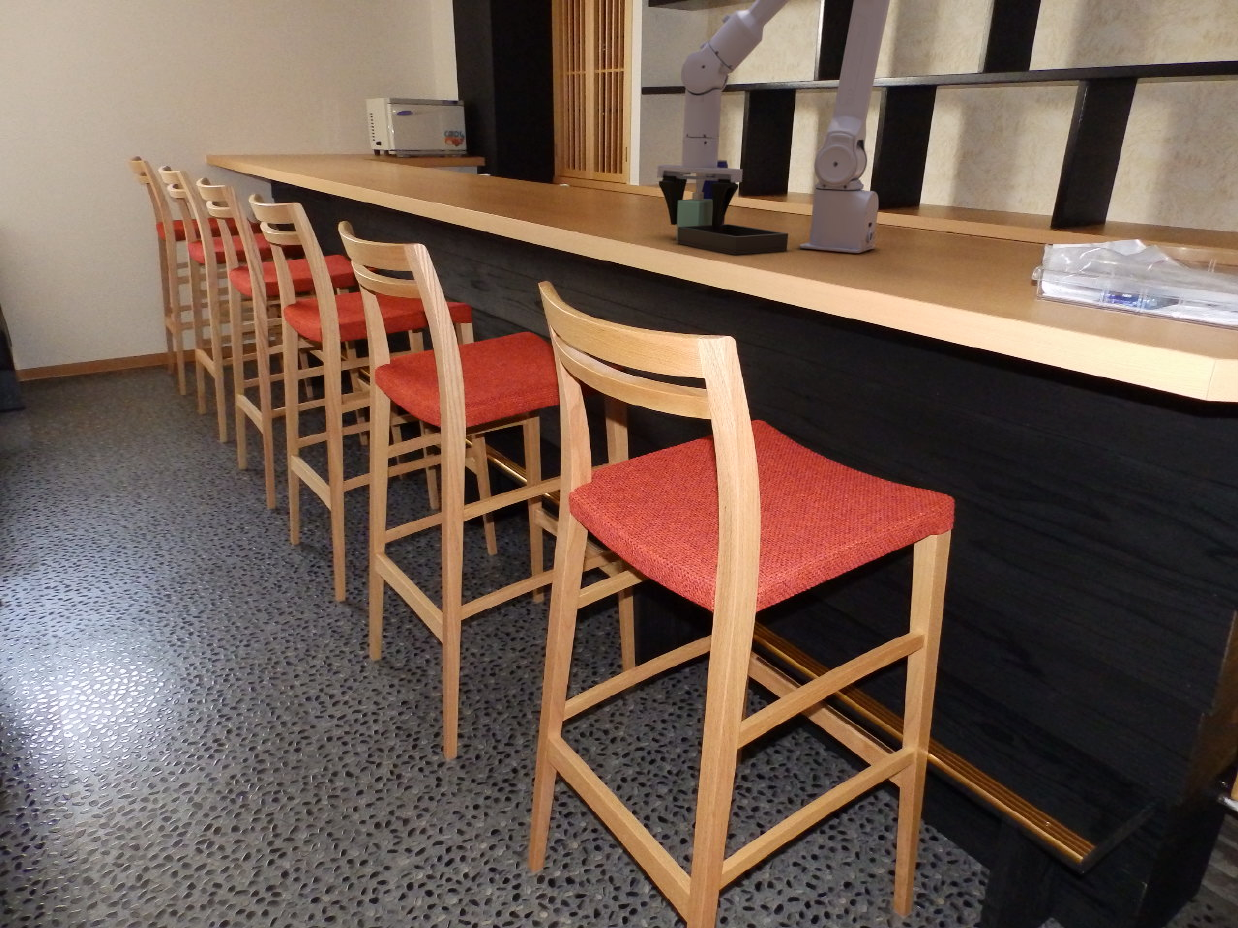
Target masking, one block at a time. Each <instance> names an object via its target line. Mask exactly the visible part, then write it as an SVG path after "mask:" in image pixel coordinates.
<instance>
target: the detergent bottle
mask: <svg viewBox="0 0 1238 928" xmlns="http://www.w3.org/2000/svg"><path fill="white" fill-rule="evenodd" d="M691 197H692V198H688V199H683V200H680V201H678V213H677V225H676V239H675V240H676V241H677V239H678V227H686V226H702V225H712V211H713V202H712V200H711V199H703V197H704V193H703V192H695V191H692V196H691Z"/></svg>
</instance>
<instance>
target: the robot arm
mask: <svg viewBox="0 0 1238 928" xmlns="http://www.w3.org/2000/svg"><path fill="white" fill-rule="evenodd" d="M790 1H791V0H754V1H753V2H752V4H751V6H750V7H749V8H748V9H739V10H735V11H734V12H733V13H732V14H729V13H726V15H725V16H724V17H723V18H722V20H721V21H722V23H723V24H722V26H721V27H719V29H717V31H716V32H715V33H714V35H712V37H711V38H710V39H709V40H708V41H703V43H702V44H701V45H700V46H699V48H700V50H696V51H693V52H691V53H689V54H688V55H687V57H686V59H685V60H684V62H683V64H682V67H681V70H680V80H681V83H682V85H683V87H684V88H685V92H684V93H685V94H684V107H683V125H682V126H683V127H682V146H681V147H682V149H681V165H677V164H675V165H674V164H658V165H657V171H656V172H657V173H656V174H657V175H656V177H657V178H658V179H659V178H661V180H658V186H659V188H660V190H661V192H662V194H663V197H664V199H665V203H666V206H667V210H668V215H669V220H670V225H671V226H677V213H678V201H680V200H684V195H685V190H686V186H687V183H688V180H695V181H696V180H710V181H718V183H711V191H712V202H713V211H712V226H713V229H719V228H720V225H722V224H723V220H724V217H725V218H726V213H727V211H728V209H729V205H730V204H731V202H732V200H733V198H734V197H735V194H736V192H737V191H738V190H739V185H740V184H739V183H742V182H743V168H730V167H728V168H719V167H717V162H718V160H719V145H720V129H721V128H720V127H721V113H722V112H721V111H722V106H721V105H722V92H723V91H724V89H725V88H726V86H727V84H728V82H729V74H732V73H733V72H734V71H736V69H737V68H738V67H739V66H740V65H741V64H742V63H743V62H744V61H745V60H746V58H747V57H748V56H749V55H750V54H751V53H752V52H754V50H755V49H756V48H757V46H759V45H760V43H761V42H762V41H763V37H764V36H763V35H764V29H765V26H766V25H767V24H768V23H769V22H770V21H771V20H772V19H773V18H774V17H775V16H776V15H777V14H778V13H779V12H780V11H781V10H783V8H784V7H785V6H786V5H787V4H788V3H789V2H790ZM890 2H891V0H853V3H852V8H851V14H850V20H849V26H848V30H847V31H848V32H847V35H846V36H847V38H846V44H845V47H844V52H843V59H842V64H841V68H840V69H841V70H840V75H839V81H838V87H837V91H836V96H835V103H834V106H833V107H834V108H833V113H832V118H831V121H830V123H829V125H828V128H827V131H826V134H825V139H824V140H825V141H824V143H823V145H822V147H821V148H820V149H819V151H818V152H817V154H816V155H815V159H814V165H813V168H814V173H815V176H816V178H817V179H818V182H817V183H815V184H814V188H813V198H812V209H811V218H810V219H811V220H810V230H809V238H808V239H809V241H808V242H805V243H801V244H799V245H798V247H799V249H805V250H806V249H807V250H816V251H817V250H819V251H828V252H838V253H839V252H840V253H850V254H860V253H861V254H862V253H864V252H867V251H870V250H874V249H875V248H876V245H875V239H876V230H877V223H878V222H877V221H878V215H879V214H878V213H879V195H878V193H877V192H876V191H874V190H864V183H862V181H861V179H860V178H861V177H862V176H863V175H864V173H865V172H866V169H867V167H868V155H867V151H866V145H865V144H866V139H867V118H868V113H869V108H870V103H871V99H872V93H873V89H874V83H875V77H876V74H877V68H878V63H879V58H880V54H881V53H880V52H881V48H882V42H883V38H884V33H885V28H886V22H887V18H888V12H889V7H890ZM696 173H698V174H707V176H714V177H702V176H696V175H691V174H696Z"/></svg>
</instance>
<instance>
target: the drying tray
mask: <svg viewBox="0 0 1238 928" xmlns="http://www.w3.org/2000/svg"><path fill="white" fill-rule="evenodd" d="M676 239H677V238H676ZM788 241H789V233H788V232H782V231H776V230H769V229H764V228H757V227H750V226H744V225H738V224H737V225H736V224H731V223H724V224H722V225H720V228H719V229H713V226H712V225H702V226H686V227H678V239H677V240H676V242H677V243H676V244H677V245H682V246H688V247H692V248H697V249H700V250H701V249H702V250H706V251H712V252H717V253H721V254H725V255H726V254H727V255H732V256H741V255H754V254H766V253H768V254H769V253H778V252H779V253H780V252H787V251H788V243H789V242H788Z"/></svg>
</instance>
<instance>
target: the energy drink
mask: <svg viewBox="0 0 1238 928" xmlns="http://www.w3.org/2000/svg"><path fill="white" fill-rule="evenodd" d="M717 167H719V168H729V164H728V160H726V159H718V162H717ZM695 176H702V177H714V176H707V174H698V173H695ZM711 183H718V181H710V180H695V191H694V192H703V193H704V197H703V199H711V200H712V191H711ZM725 218H726V216H725V217H724V220H723V224H725V223H726V222H725V221H726V219H725Z"/></svg>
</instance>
